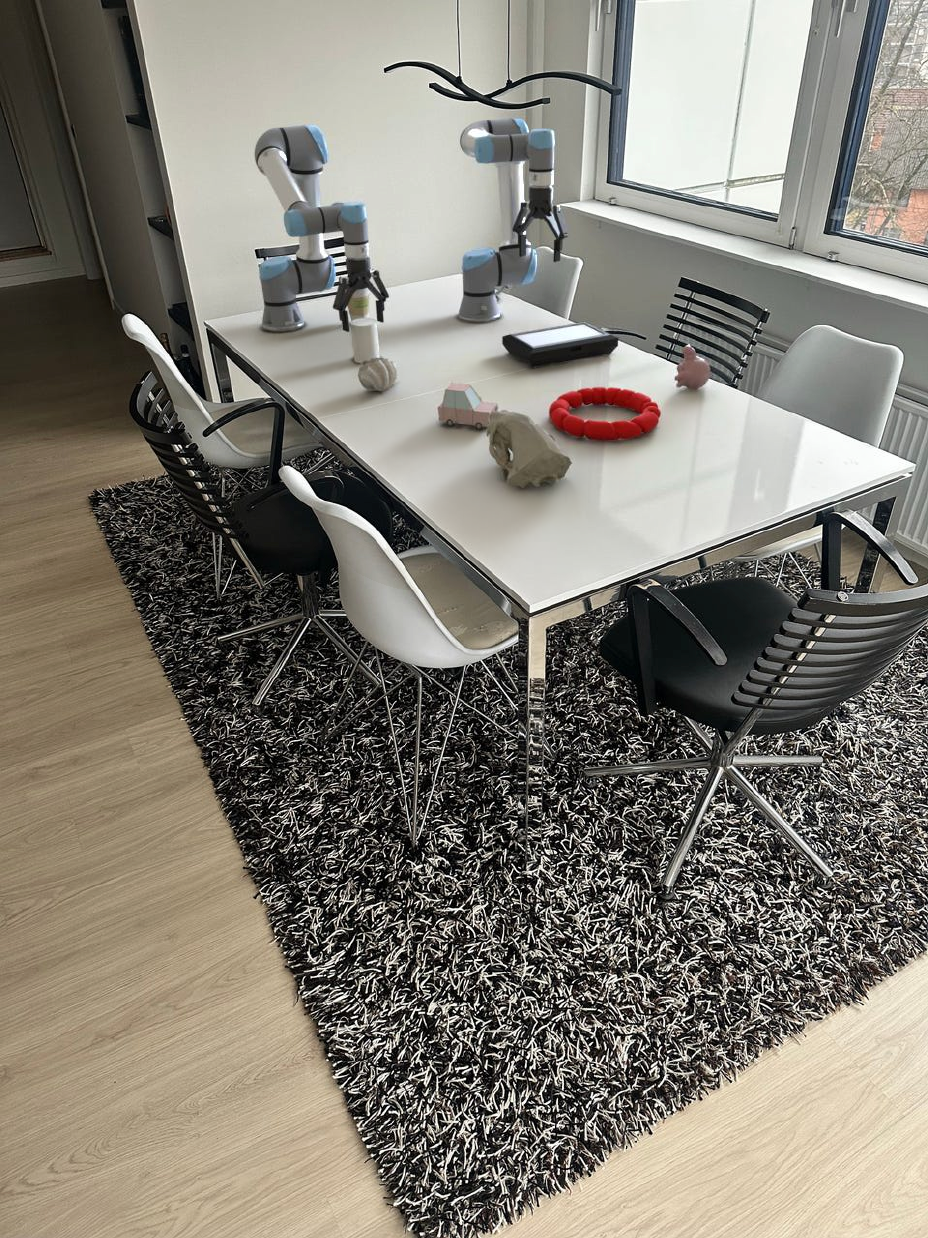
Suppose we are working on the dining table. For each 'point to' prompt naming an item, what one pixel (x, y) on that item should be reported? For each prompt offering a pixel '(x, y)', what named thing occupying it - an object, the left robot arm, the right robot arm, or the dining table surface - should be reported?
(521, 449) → the animal skull
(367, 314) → the coffee cup
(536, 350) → the electronic device
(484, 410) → the toy car
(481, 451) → the dining table surface
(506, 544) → the dining table surface
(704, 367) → the figurine
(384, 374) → the seashell
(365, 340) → the canister
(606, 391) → the decorative ring
